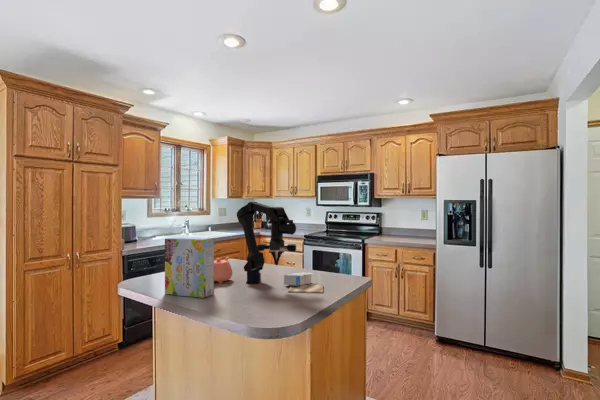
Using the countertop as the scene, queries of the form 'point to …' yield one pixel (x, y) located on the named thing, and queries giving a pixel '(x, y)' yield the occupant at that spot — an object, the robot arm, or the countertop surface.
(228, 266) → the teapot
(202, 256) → the snack box
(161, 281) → the countertop surface
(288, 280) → the ink box
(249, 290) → the countertop surface
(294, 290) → the cork trivet
